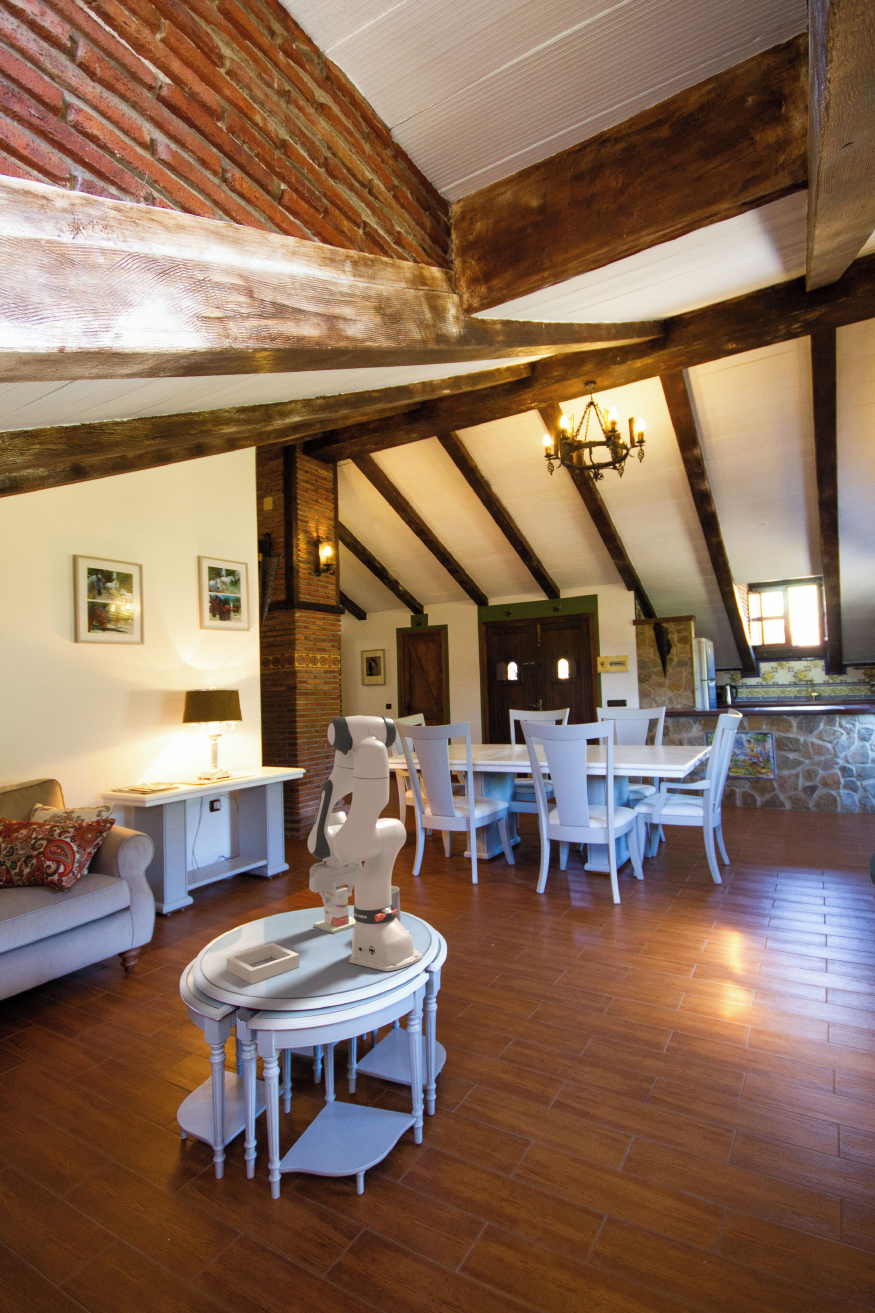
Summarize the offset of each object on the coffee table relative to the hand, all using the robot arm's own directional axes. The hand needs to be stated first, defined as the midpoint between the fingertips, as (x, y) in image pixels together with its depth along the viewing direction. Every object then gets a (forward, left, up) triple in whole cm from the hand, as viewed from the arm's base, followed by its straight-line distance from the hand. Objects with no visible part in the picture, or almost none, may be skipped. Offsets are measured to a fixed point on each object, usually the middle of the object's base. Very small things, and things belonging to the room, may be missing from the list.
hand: (337, 899), depth 224 cm
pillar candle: (-19, -6, -9) cm, 22 cm away
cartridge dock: (-14, +36, -9) cm, 40 cm away
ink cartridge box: (0, +1, -8) cm, 8 cm away
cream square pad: (0, 0, -9) cm, 9 cm away
